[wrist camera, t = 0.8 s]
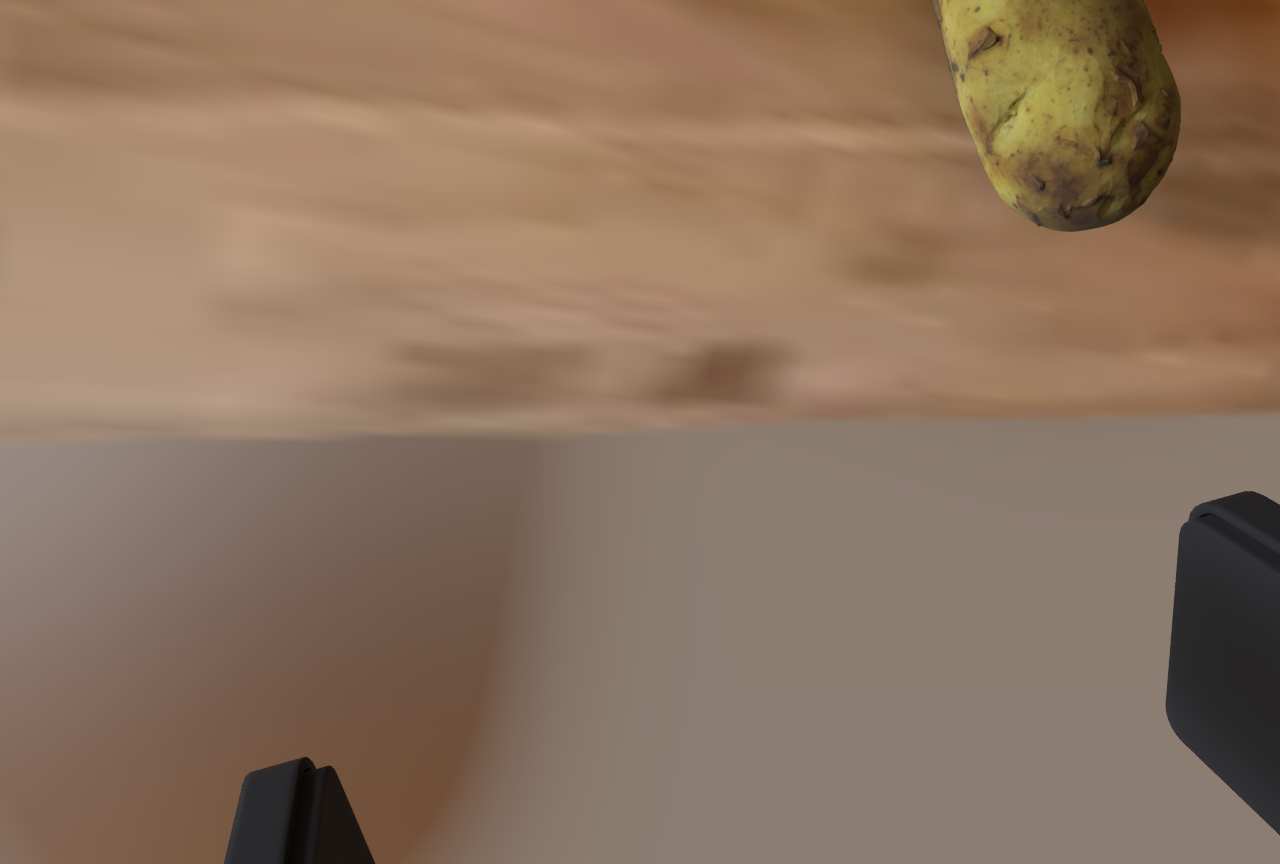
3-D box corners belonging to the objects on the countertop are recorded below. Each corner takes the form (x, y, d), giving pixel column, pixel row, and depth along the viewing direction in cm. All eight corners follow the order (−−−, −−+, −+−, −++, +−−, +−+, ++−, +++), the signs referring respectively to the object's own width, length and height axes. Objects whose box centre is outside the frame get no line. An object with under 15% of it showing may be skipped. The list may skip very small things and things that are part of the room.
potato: (1113, -174, 34) (1300, -223, 26) (1064, 195, 39) (1209, 236, 32) (894, -168, 32) (1029, -219, 25) (874, 213, 38) (981, 261, 30)
